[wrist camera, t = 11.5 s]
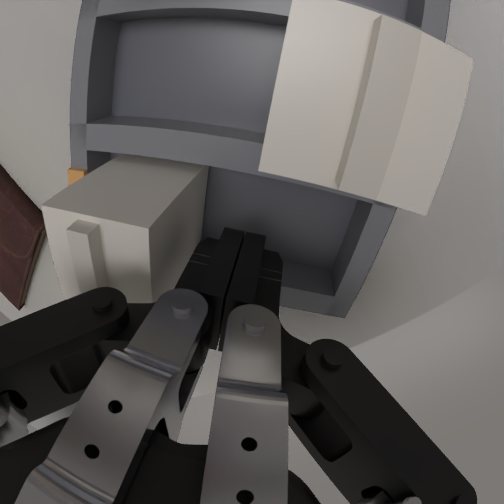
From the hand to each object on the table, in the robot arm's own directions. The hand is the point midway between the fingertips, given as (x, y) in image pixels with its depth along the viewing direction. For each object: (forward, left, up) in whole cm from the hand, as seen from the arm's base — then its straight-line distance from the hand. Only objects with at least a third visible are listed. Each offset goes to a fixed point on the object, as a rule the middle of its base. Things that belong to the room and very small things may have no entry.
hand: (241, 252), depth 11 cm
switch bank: (+1, -6, -5) cm, 8 cm away
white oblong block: (+4, 0, -3) cm, 5 cm away
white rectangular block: (-2, -6, -3) cm, 7 cm away
